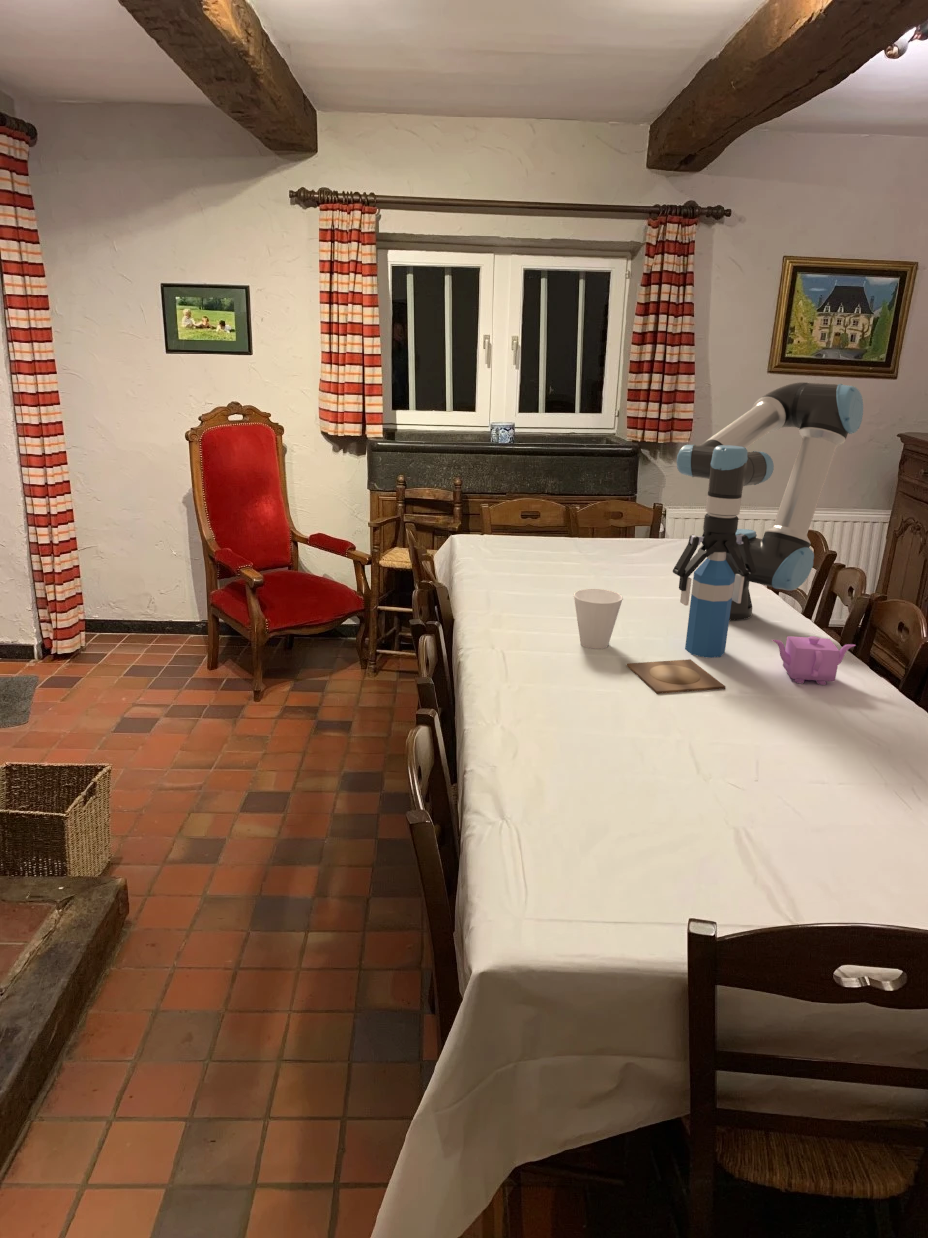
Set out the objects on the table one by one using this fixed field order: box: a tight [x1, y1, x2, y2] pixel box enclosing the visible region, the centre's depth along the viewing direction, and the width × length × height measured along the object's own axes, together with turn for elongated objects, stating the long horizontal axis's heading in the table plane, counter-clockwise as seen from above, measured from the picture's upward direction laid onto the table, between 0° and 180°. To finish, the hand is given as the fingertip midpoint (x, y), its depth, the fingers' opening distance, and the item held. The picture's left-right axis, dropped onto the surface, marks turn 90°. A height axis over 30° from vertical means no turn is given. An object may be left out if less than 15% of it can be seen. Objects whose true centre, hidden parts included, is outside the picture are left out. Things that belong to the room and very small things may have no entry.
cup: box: [573, 588, 624, 650], centre depth 204 cm, size 12×12×12 cm
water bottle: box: [684, 552, 735, 659], centre depth 199 cm, size 9×9×25 cm
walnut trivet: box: [626, 658, 726, 695], centre depth 187 cm, size 16×16×1 cm
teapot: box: [771, 635, 857, 686], centre depth 187 cm, size 18×13×10 cm
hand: (710, 602), depth 199 cm, fingers open, 13 cm apart
